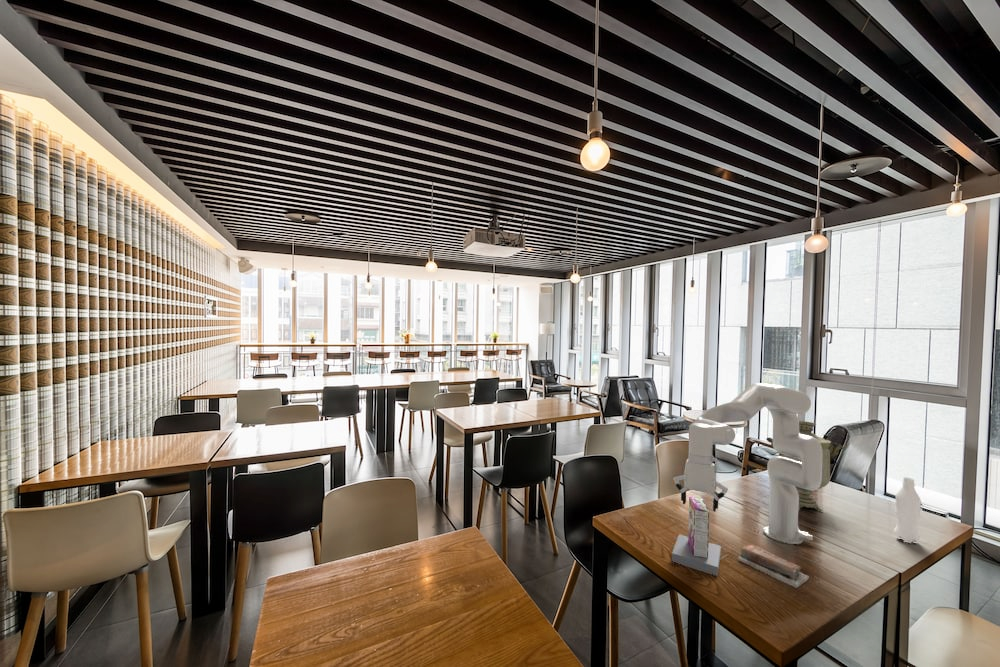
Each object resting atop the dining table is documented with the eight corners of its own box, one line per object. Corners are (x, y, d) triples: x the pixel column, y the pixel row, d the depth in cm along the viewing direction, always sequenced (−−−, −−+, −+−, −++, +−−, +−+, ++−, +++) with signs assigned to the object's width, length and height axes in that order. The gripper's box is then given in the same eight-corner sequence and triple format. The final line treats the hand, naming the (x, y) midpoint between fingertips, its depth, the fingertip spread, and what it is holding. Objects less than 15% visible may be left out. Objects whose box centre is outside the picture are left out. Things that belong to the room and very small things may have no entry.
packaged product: (737, 547, 139) (750, 540, 144) (736, 561, 139) (750, 553, 144) (797, 574, 124) (809, 565, 129) (797, 590, 124) (809, 580, 129)
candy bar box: (687, 540, 145) (688, 496, 145) (701, 542, 144) (703, 498, 144) (692, 556, 134) (694, 508, 135) (708, 559, 133) (710, 511, 133)
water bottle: (918, 541, 157) (920, 478, 157) (920, 547, 152) (922, 483, 152) (893, 534, 162) (895, 474, 162) (894, 540, 156) (896, 478, 157)
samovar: (766, 509, 182) (768, 423, 182) (763, 491, 204) (765, 414, 204) (850, 528, 166) (853, 434, 166) (837, 506, 188) (840, 423, 188)
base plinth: (720, 554, 142) (720, 545, 142) (717, 576, 129) (717, 567, 129) (678, 542, 150) (679, 534, 150) (671, 561, 136) (672, 553, 136)
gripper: (728, 460, 138) (727, 509, 138) (675, 451, 147) (674, 497, 147) (727, 466, 131) (726, 517, 131) (672, 456, 141) (671, 504, 141)
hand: (699, 506), depth 139 cm, fingers open, 9 cm apart
